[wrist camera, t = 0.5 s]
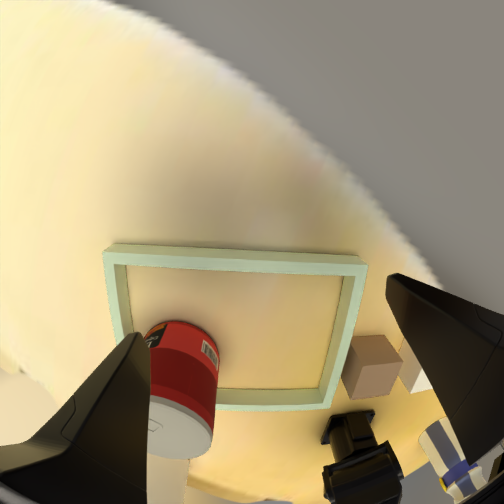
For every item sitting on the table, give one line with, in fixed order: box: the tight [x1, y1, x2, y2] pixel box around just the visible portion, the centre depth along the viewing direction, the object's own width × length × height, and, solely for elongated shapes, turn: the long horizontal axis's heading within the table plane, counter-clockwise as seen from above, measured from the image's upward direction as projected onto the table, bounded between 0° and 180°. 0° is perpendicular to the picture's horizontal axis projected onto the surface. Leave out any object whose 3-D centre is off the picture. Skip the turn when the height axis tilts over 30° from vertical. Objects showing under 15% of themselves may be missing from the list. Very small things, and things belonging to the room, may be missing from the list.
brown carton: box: [341, 335, 404, 400], centre depth 26 cm, size 4×4×5 cm
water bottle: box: [418, 417, 487, 504], centre depth 24 cm, size 8×9×25 cm
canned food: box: [144, 321, 220, 459], centre depth 22 cm, size 8×8×11 cm
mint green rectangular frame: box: [102, 244, 368, 411], centre depth 26 cm, size 17×22×2 cm
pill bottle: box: [147, 453, 189, 504], centre depth 26 cm, size 8×8×15 cm
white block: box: [398, 337, 433, 394], centre depth 26 cm, size 4×4×5 cm
